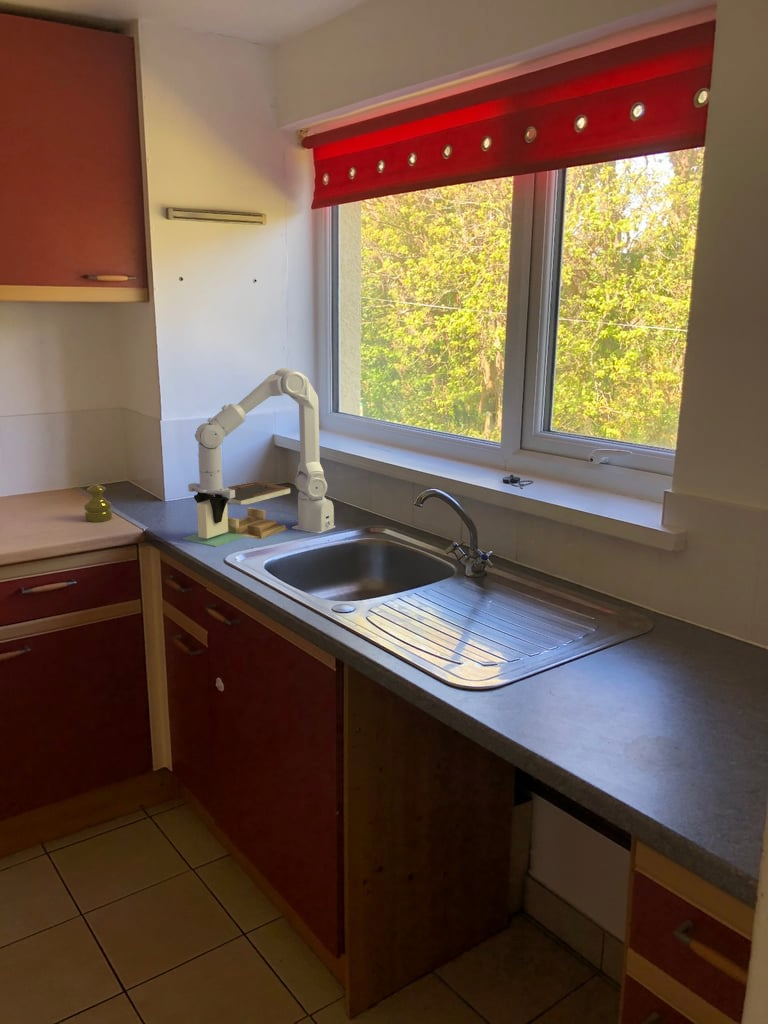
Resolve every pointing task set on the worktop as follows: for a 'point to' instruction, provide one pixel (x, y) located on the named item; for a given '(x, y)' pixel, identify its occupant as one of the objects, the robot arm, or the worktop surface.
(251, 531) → the offcut lower
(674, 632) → the worktop surface
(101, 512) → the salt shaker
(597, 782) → the worktop surface
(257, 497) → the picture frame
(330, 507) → the robot arm
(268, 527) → the offcut upper
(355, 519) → the worktop surface
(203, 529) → the block
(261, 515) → the rack
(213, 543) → the pad
